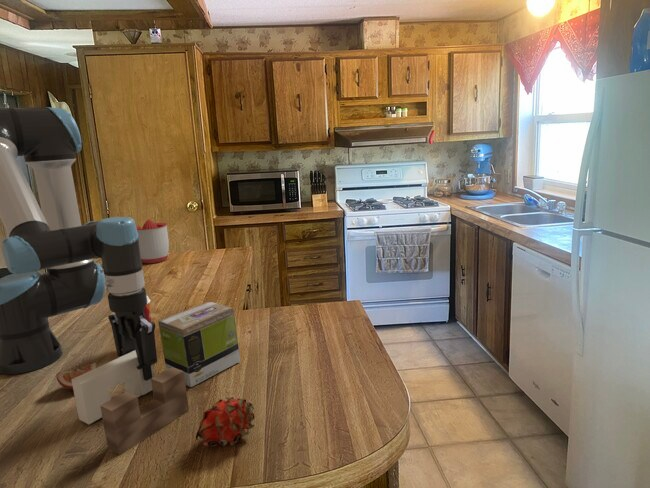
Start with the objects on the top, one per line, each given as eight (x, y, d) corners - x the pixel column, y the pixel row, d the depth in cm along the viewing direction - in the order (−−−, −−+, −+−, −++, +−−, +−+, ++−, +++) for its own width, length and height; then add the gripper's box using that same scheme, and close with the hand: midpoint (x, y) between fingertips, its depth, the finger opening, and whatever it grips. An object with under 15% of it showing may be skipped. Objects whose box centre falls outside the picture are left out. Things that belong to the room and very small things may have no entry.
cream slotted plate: (88, 424, 94) (81, 384, 92) (79, 419, 96) (71, 379, 93) (156, 387, 107) (150, 350, 104) (146, 383, 108) (141, 347, 106)
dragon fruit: (262, 433, 91) (206, 469, 85) (240, 397, 95) (184, 429, 89) (268, 416, 85) (207, 453, 79) (244, 378, 89) (184, 411, 83)
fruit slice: (96, 375, 115) (93, 357, 114) (102, 386, 109) (98, 367, 108) (58, 387, 110) (54, 368, 109) (62, 399, 105) (57, 379, 104)
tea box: (216, 352, 124) (209, 299, 120) (241, 362, 117) (235, 307, 114) (165, 376, 112) (157, 319, 109) (190, 389, 106) (182, 328, 103)
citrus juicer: (163, 254, 235) (157, 214, 231) (176, 260, 222) (171, 218, 217) (131, 260, 226) (124, 219, 221) (143, 267, 213) (137, 223, 208)
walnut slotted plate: (119, 455, 85) (111, 410, 83) (108, 449, 87) (100, 405, 85) (188, 410, 98) (183, 371, 96) (177, 405, 100) (172, 367, 98)
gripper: (87, 289, 101) (104, 387, 107) (134, 302, 92) (150, 408, 98) (119, 279, 107) (133, 372, 113) (166, 290, 98) (179, 391, 104)
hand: (141, 388), depth 105 cm, fingers closed on cream slotted plate, 3 cm apart
